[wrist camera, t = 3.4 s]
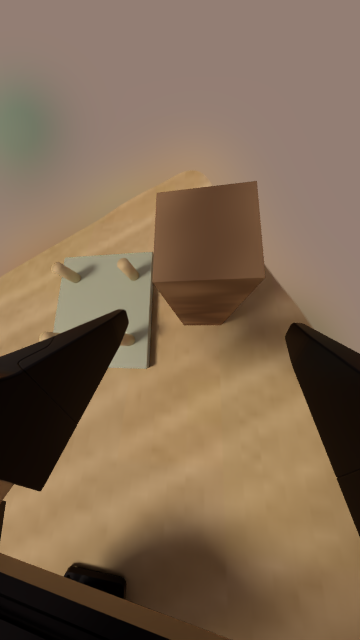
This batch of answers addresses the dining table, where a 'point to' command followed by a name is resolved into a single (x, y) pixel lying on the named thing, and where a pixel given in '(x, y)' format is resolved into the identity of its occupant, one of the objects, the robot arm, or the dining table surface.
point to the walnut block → (208, 250)
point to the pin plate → (108, 299)
